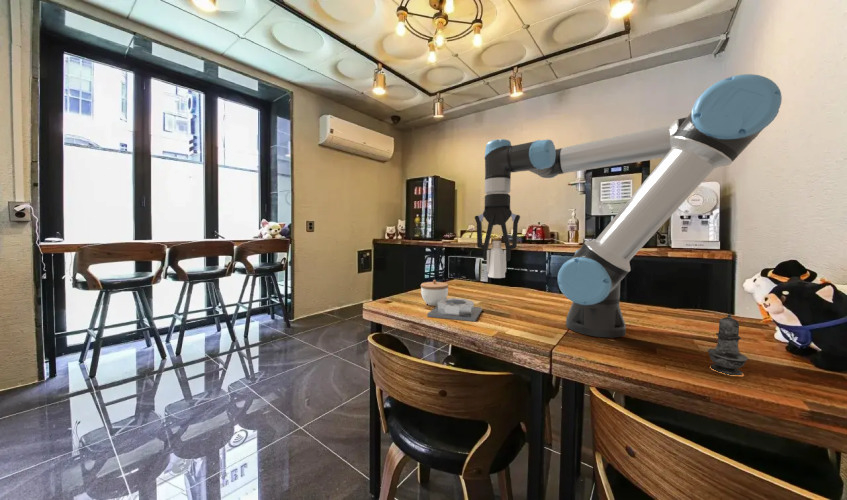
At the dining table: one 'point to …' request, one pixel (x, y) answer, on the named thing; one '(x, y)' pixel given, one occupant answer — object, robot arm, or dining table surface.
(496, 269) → the salt shaker
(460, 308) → the grey ashtray on slab
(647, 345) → the dining table surface
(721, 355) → the grey stone tiered piece
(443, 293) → the lidded jar
